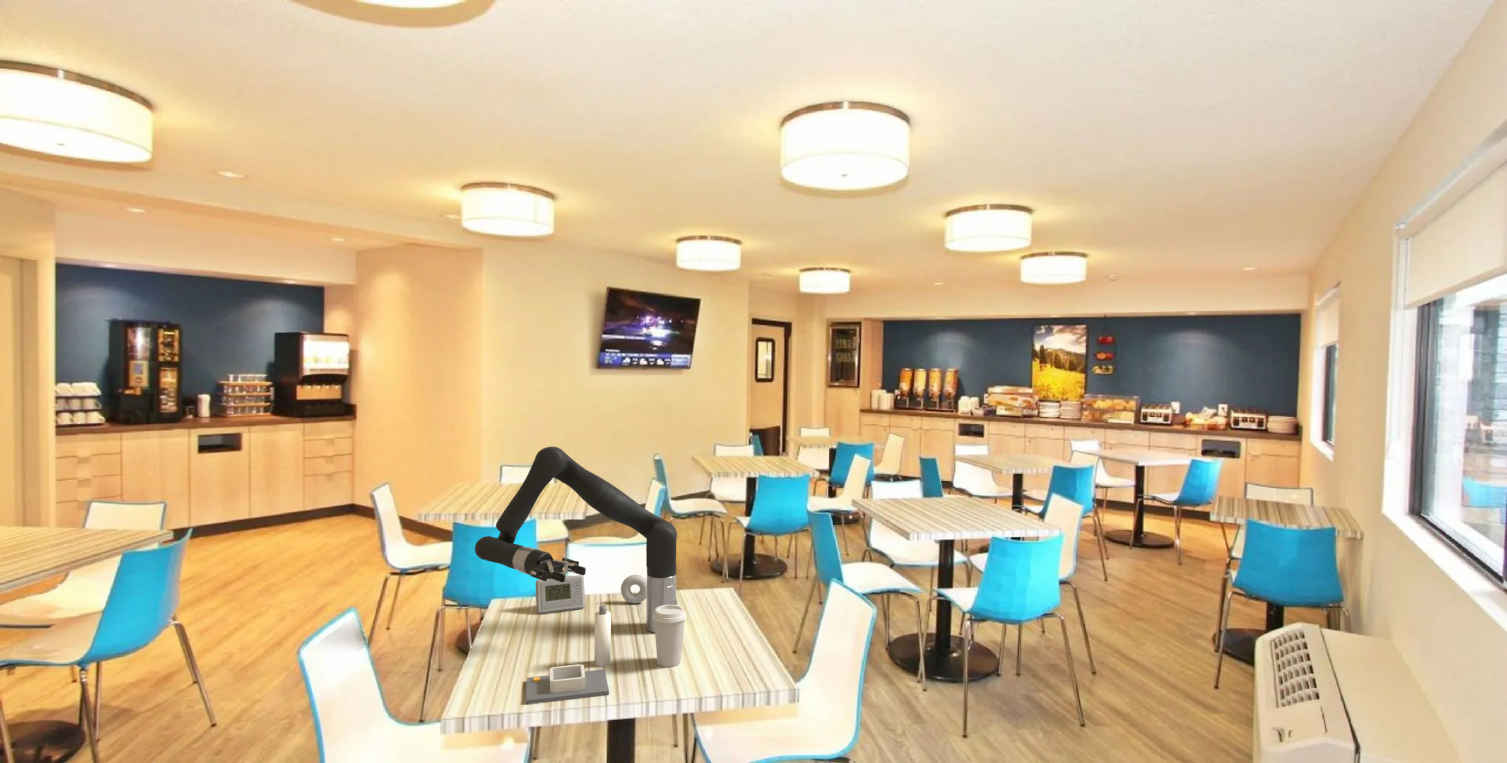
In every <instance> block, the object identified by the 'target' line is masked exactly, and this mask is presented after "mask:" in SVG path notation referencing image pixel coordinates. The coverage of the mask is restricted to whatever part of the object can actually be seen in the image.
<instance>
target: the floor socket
mask: <svg viewBox="0 0 1507 763" xmlns="http://www.w3.org/2000/svg"><path fill="white" fill-rule="evenodd" d="M525 691H526V692H525V694H526V695H525V697H526V698H525V699H526V700H525V704H526V703H534V704H540V703H539V702H542V703H548V702H557V701H566V700H577V699H584V698H591V697H593V698H594V697H601V696H610V690H609V684H608V679H607V674H606V671H605V669H604V668H603V669H594V670H588V671H586V670H585V666H584V664H571V665H570V664H569V665H562V666H552V667H549V675H541V676H531V677H530V676H529V677H526V690H525Z"/></svg>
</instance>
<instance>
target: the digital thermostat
mask: <svg viewBox="0 0 1507 763" xmlns="http://www.w3.org/2000/svg"><path fill="white" fill-rule="evenodd" d="M565 576H566V577H565V582H559V581H556V580H549V579H547V581H542V580H540V579H537V580H536V581H535V599H536V600H535V602H536V604H535V606H536V607H535V608H536V613H537V614H539V615H540V614H552V613H553V614H554V613H555V614H556V613H561V612H563V613H564V612H569V611H575V610H579V609H584V608H585V607H586V594H585V580H584V579H585V578H584V575H579V574H576V575H565Z"/></svg>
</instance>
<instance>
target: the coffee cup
mask: <svg viewBox="0 0 1507 763" xmlns="http://www.w3.org/2000/svg"><path fill="white" fill-rule="evenodd" d="M652 618H653V620H654V625H655V633H654V636H655V648H656V660H657V662H656V663H657V665H658V666H659V667H664V668H672V667H673V668H674V667H677V666H679V665H680V664H681V663H682V660H681V659H682V651H683V643H684V629H685V620H686V619H687V613H686V611H685V609H684V607H683V606H680V605H678V604H677V605H662V606H659V607H657V608H656V609H655V612H654V613H653V616H652Z"/></svg>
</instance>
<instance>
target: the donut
mask: <svg viewBox="0 0 1507 763" xmlns="http://www.w3.org/2000/svg"><path fill="white" fill-rule="evenodd" d="M635 585H636V586H638V587H639V591H638V592H637V593H633V592H632V590H631V588H632V586H635ZM620 593H621V594H620V595H621V597H622V598H623V599H624V600H625V601H626V602H628V603H630V604H635V605H636V604H640V603H641V602H643V601H645V600H647V578H645V577H644V576H642V575H640V574H631V575H629V576H627V577H626V578H624V580H623V581H622V583H621V586H620Z"/></svg>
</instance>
